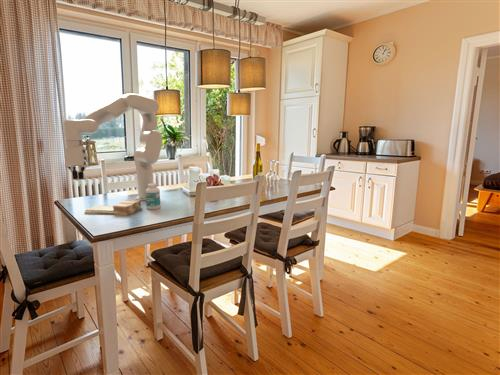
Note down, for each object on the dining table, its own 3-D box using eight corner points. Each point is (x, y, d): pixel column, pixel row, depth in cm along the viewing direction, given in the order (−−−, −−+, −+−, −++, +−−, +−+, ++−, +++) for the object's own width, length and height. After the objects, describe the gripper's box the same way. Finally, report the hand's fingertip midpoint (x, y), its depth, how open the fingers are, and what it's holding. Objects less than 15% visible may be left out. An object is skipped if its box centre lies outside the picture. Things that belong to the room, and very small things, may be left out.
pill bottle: (143, 209, 167) (141, 184, 165) (152, 206, 174) (150, 182, 171) (154, 210, 165) (153, 185, 162) (163, 207, 171) (162, 183, 169)
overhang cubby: (100, 207, 172) (99, 199, 171) (141, 208, 170) (140, 200, 169) (84, 214, 158) (83, 205, 157) (128, 215, 156) (128, 206, 155)
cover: (95, 209, 170) (95, 205, 169) (121, 209, 168) (121, 206, 168) (85, 213, 161) (85, 210, 160) (112, 214, 159) (112, 210, 159)
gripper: (93, 143, 162) (97, 178, 165) (64, 143, 163) (69, 177, 167) (84, 144, 154) (88, 180, 158) (54, 144, 156) (59, 180, 160)
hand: (78, 178), depth 162 cm, fingers open, 2 cm apart
